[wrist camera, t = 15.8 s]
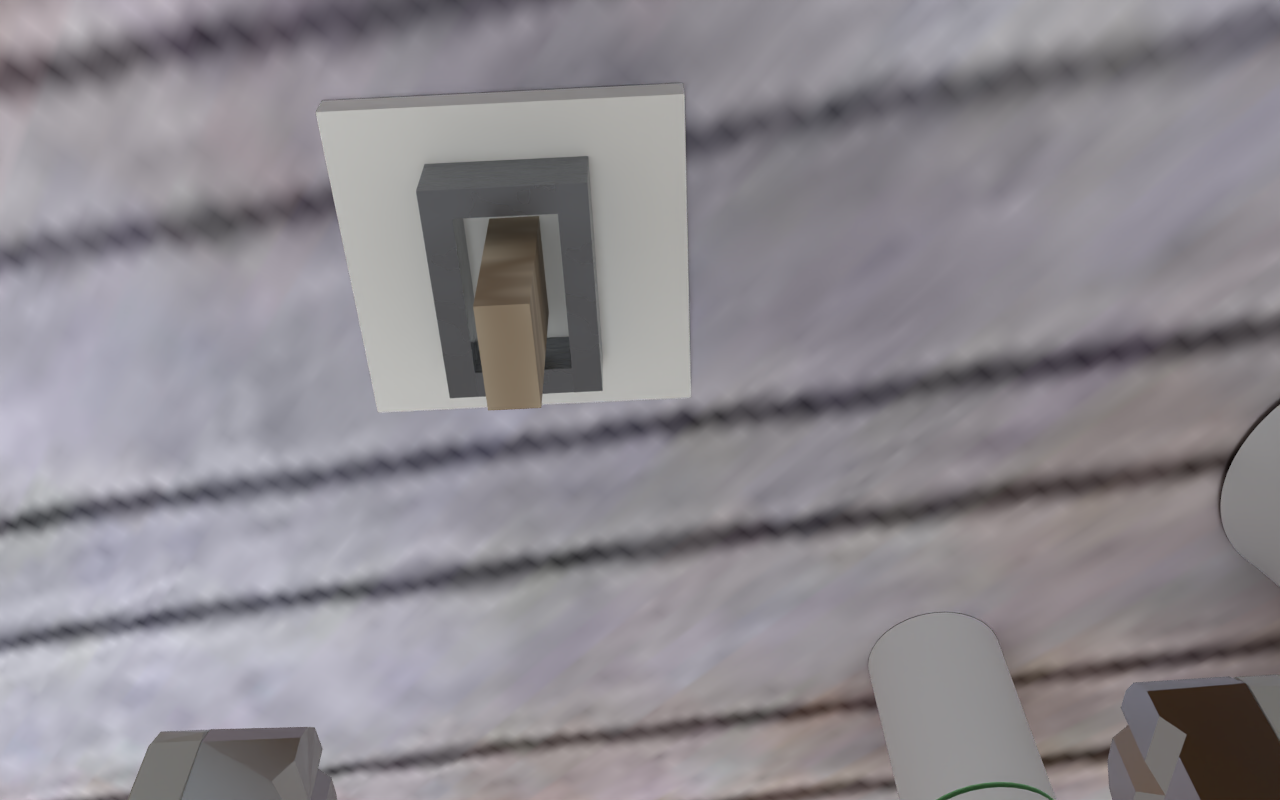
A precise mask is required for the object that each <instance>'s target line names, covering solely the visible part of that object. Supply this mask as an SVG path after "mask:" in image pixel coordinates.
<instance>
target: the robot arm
mask: <svg viewBox="0 0 1280 800" xmlns="http://www.w3.org/2000/svg"><path fill="white" fill-rule="evenodd" d="M1221 519H1222V523H1223V527H1224V530H1225V533H1226V535H1227V537H1228V539H1229V541H1230V543H1231V544H1232V546H1233V547H1234V548H1235V549H1236V551H1237V552H1238V553H1239V554H1240V555H1241V556H1242V557H1243V558H1244V559H1246V560H1247V561H1248V562H1250V563H1251V564H1252V565H1254V566H1255V567H1256V568H1257V569H1259V570H1260V571H1261V572H1262V573H1264V574H1265V575H1266V576H1267V577H1268V578H1270V579H1271V580H1272V581H1273V582H1274V583H1275V584H1276V585H1277V586H1279V587H1280V405H1279V406H1278V407H1276V408H1275V409H1274V410H1273V411H1272V412H1271V413H1270V414H1269V415H1268V416H1267V417H1266V418H1265V419H1264V420H1263V421H1262V422H1261V423H1260V424H1259V425H1258V426H1257V427H1256V428H1255V429H1254V430H1253V432H1252V433H1251V434H1250V435H1249V437H1248V438H1247V439H1246V441H1245V442H1244V443H1243V445H1242V446H1241V448H1240V449H1239V451H1238V453H1237V454H1236V456H1235V458H1234V460H1233V462H1232V463H1231V466H1230V468H1229V470H1228V473H1227V475H1226V478H1225V481H1224V485H1223V489H1222V495H1221ZM1121 709H1122V712H1123V714H1124V716H1125V718H1126V721H1127V723H1128V726H1127V727H1125V728H1124V729H1123V730H1122V731H1120V732H1119V733H1118V734H1117V735H1116V736H1114V737H1113V739H1112V743H1111V748H1110V752H1109V757H1108V776H1109V789H1110V792H1111V796H1112V800H1280V675H1266V676H1246V677H1235V678H1232V677H1229V676H1228V677H1213V678H1198V679H1182V680H1167V681H1151V682H1136V683H1133V684H1132V685H1131V686H1130V687H1129V688H1128V689H1127V690H1126V693H1125V696H1124V699H1123V703H1122V706H1121ZM321 754H322V746H321V743H320V741H319V738H318V735H317V732H316V730H315V728H313V727H288V728H248V729H211V730H190V731H164V732H160V733H159V735H158V736H157V737H156V738H155V739H154V741H153V742H152V743H151V744H150V745H149V747H148V749H147V752H146V754H145V757H144V759H143V762H142V764H141V767H140V769H139V772H138V774H137V777H136V779H135V782H134V784H133V787H132V789H131V792H130V795H129V797H128V800H337V796H336V791H335V788H334V785H333V781H332V778H331V777H330V776H328V775H327V774H325V773H324V772H322V771H321V770H320V769H318V767H319V762H320V758H321Z"/></svg>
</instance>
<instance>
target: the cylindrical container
mask: <svg viewBox="0 0 1280 800" xmlns="http://www.w3.org/2000/svg"><path fill="white" fill-rule="evenodd" d="M868 669H869V674H870V678H871V683H872V687H873V691H874V695H875V699H876V703H877V708H878V712H879V716H880V720H881V724H882V729H883V733H884V737H885V741H886V745H887V749H888V754H889V758H890V762H891V766H892V770H893V775H894V779H895V783H896V787H897V791H898V795H899V800H1056V797H1055V795H1054V792H1053V789H1052V787H1051V784H1050V781H1049V778H1048V776H1047V773H1046V770H1045V768H1044V765H1043V762H1042V760H1041V757H1040V754H1039V751H1038V749H1037V746H1036V743H1035V741H1034V738H1033V735H1032V732H1031V730H1030V727H1029V724H1028V722H1027V719H1026V716H1025V713H1024V711H1023V708H1022V705H1021V702H1020V700H1019V697H1018V694H1017V692H1016V689H1015V686H1014V683H1013V681H1012V678H1011V675H1010V672H1009V670H1008V667H1007V664H1006V662H1005V659H1004V656H1003V653H1002V651H1001V648H1000V645H999V642H998V640H997V638H996V635H995V634H994V633H993V631H992V630H991V629H990V628H989V627H988V626H987V625H985V624H984V623H983V622H981V621H979V620H977V619H975V618H973V617H970V616H967V615H963V614H959V613H948V612H943V613H931V614H925V615H920V616H917V617H914V618H911V619H908V620H906V621H904V622H902V623H900V624H898V625H896V626H895V627H893V628H892V629H890V630H889V631H887V632H886V633H885V634H884V635H883V636H882V637H881V638H880V639H879V640H878V641H877V643H876V644H875V646H874V647H873V649H872V651H871V654H870V657H869V663H868Z"/></svg>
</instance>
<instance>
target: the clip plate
mask: <svg viewBox="0 0 1280 800" xmlns="http://www.w3.org/2000/svg"><path fill="white" fill-rule="evenodd" d="M316 117H317V122H318V126H319V131H320V136H321V141H322V146H323V150H324V155H325V160H326V165H327V170H328V175H329V179H330V184H331V189H332V194H333V199H334V203H335V208H336V213H337V218H338V223H339V227H340V232H341V237H342V242H343V247H344V251H345V256H346V261H347V266H348V271H349V275H350V280H351V285H352V290H353V295H354V299H355V304H356V309H357V314H358V319H359V324H360V328H361V333H362V338H363V343H364V348H365V352H366V357H367V362H368V367H369V372H370V376H371V381H372V386H373V391H374V396H375V400H376V405H377V410H378V413H382V412H403V411H424V410H444V409H465V408H486V407H487V400H486V397H465V398H450V396H449V390H448V384H447V378H446V372H445V366H444V360H443V353H442V347H441V341H440V335H439V329H438V323H437V317H436V311H435V305H434V299H433V292H432V286H431V280H430V274H429V268H428V262H427V256H426V250H425V244H424V238H423V231H422V225H421V219H420V213H419V207H418V201H417V195H416V189H417V186H418V183H419V180H420V177H421V173H422V170H423V167H424V164H434V163H455V162H475V161H496V160H516V159H536V158H557V157H577V156H588V158H589V172H590V186H591V200H592V214H593V228H594V242H595V256H596V270H597V284H598V298H599V312H600V326H601V340H602V354H603V391H591V392H570V393H549V394H542V405H549V404H570V403H591V402H612V401H633V400H654V399H675V398H691V375H690V328H689V281H688V234H687V188H686V141H685V94H684V87H683V83H672V84H651V85H631V86H611V87H591V88H570V89H550V90H530V91H509V92H489V93H469V94H448V95H428V96H408V97H387V98H367V99H347V100H326V101H321V103H320V105H319V107H318V109H317V110H316ZM530 216H539V221H540V231H541V241H542V250H543V260H544V270H545V280H546V290H547V299H548V309H549V317H548V330H547V338H550V337H569V331H568V320H567V309H566V298H565V287H564V276H563V265H562V254H561V243H560V232H559V220H558V214H543V215H522V216H502V217H481V218H463V222H464V229H465V236H466V243H467V250H468V257H469V264H470V271H471V278H472V285H473V292H474V299H475V293H476V288H477V282H478V277H479V272H480V266H481V261H482V255H483V250H484V245H485V239H486V234H487V228H488V223H489V219H490V218H510V217H530Z"/></svg>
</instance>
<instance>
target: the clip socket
mask: <svg viewBox="0 0 1280 800" xmlns="http://www.w3.org/2000/svg"><path fill="white" fill-rule="evenodd" d="M416 195H417V201H418V207H419V213H420V219H421V225H422V231H423V238H424V244H425V250H426V256H427V262H428V268H429V274H430V280H431V286H432V292H433V299H434V305H435V311H436V317H437V323H438V329H439V335H440V341H441V347H442V353H443V360H444V366H445V372H446V378H447V384H448V390H449V396H450V398H465V397H486V393H485V386H484V379H483V372H482V365H481V359H480V352H479V345H478V338H477V331H476V324H475V317H474V310H473V304H474V292H473V285H472V278H471V271H470V264H469V257H468V250H467V243H466V236H465V229H464V222H463V218H481V217H502V216H522V215H543V214H558V220H559V232H560V243H561V254H562V265H563V276H564V287H565V298H566V309H567V320H568V331H569V337H550V338H547V342H546V355H545V367H544V380H543V392H542V394H549V393H570V392H591V391H603V354H602V340H601V326H600V312H599V298H598V284H597V270H596V256H595V242H594V228H593V214H592V200H591V186H590V172H589V158H588V156H577V157H557V158H536V159H516V160H496V161H475V162H455V163H434V164H424V167H423V170H422V173H421V177H420V180H419V183H418V186H417V189H416Z"/></svg>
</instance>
